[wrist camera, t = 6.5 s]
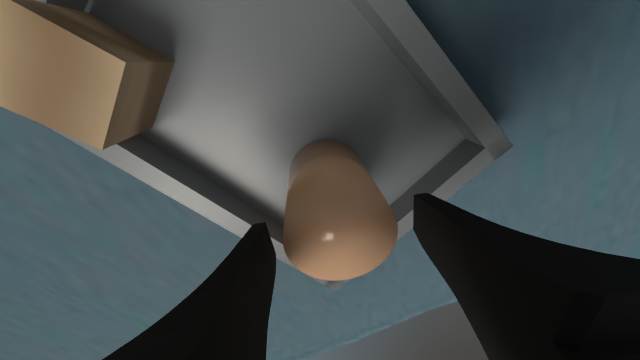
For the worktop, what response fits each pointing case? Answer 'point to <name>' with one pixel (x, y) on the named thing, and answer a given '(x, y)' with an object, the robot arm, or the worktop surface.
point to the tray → (296, 104)
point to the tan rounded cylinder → (335, 214)
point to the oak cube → (78, 73)
